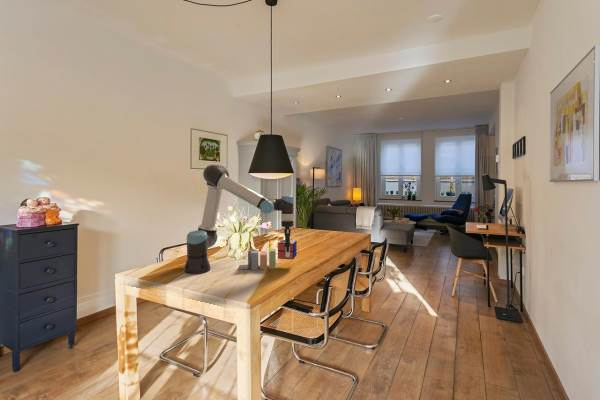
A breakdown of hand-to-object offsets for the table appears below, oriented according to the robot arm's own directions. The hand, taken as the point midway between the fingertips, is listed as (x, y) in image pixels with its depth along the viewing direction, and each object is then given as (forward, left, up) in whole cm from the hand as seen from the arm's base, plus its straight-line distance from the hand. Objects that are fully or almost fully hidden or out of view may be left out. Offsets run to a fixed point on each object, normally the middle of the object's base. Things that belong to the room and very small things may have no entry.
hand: (287, 254), depth 203 cm
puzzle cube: (0, 0, -2) cm, 2 cm away
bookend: (-27, 0, -8) cm, 28 cm away
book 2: (-15, 0, -8) cm, 17 cm away
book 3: (-9, 0, -8) cm, 12 cm away
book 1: (-20, 0, -8) cm, 22 cm away
